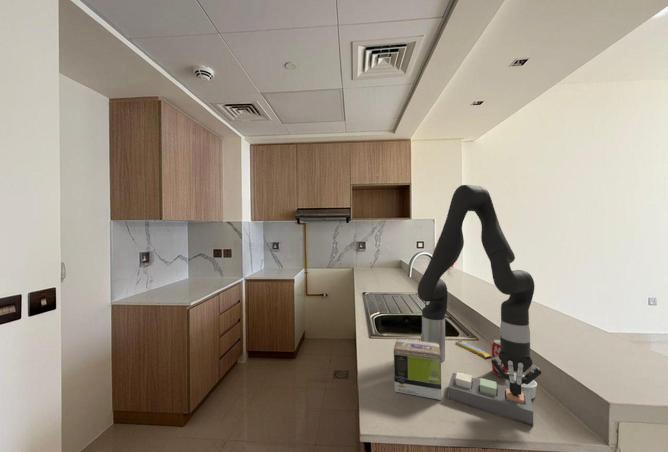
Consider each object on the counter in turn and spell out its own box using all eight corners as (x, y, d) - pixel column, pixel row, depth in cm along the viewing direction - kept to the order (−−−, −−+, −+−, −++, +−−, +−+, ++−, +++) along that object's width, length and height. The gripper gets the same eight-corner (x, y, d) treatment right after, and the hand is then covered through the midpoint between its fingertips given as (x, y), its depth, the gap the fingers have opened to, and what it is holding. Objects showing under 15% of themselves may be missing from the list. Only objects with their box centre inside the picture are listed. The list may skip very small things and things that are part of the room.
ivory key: (455, 390, 87) (455, 378, 87) (457, 383, 91) (457, 371, 91) (470, 394, 85) (470, 382, 85) (471, 387, 89) (471, 375, 89)
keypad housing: (448, 399, 86) (448, 386, 86) (452, 384, 94) (452, 372, 94) (533, 426, 74) (533, 411, 74) (529, 405, 83) (529, 392, 83)
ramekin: (499, 384, 95) (499, 371, 95) (526, 385, 94) (526, 373, 94) (514, 400, 86) (513, 386, 86) (543, 401, 85) (543, 388, 85)
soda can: (517, 380, 97) (517, 347, 97) (496, 378, 98) (495, 345, 98) (509, 370, 104) (508, 339, 104) (489, 368, 105) (488, 337, 105)
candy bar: (454, 344, 127) (454, 340, 127) (460, 343, 129) (460, 339, 129) (486, 360, 112) (486, 356, 112) (493, 358, 114) (493, 354, 114)
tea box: (440, 384, 94) (440, 342, 94) (441, 401, 85) (441, 355, 85) (396, 376, 99) (396, 336, 99) (393, 392, 90) (393, 348, 90)
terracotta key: (506, 409, 80) (506, 395, 80) (506, 401, 84) (506, 388, 84) (524, 414, 78) (524, 400, 78) (523, 406, 81) (523, 392, 81)
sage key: (479, 397, 84) (479, 384, 84) (480, 390, 87) (480, 377, 87) (496, 402, 81) (496, 389, 81) (496, 394, 85) (496, 382, 85)
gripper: (489, 336, 81) (489, 394, 81) (544, 346, 74) (545, 409, 74) (489, 328, 87) (490, 382, 87) (540, 337, 80) (541, 395, 80)
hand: (515, 394), depth 80 cm, fingers closed
